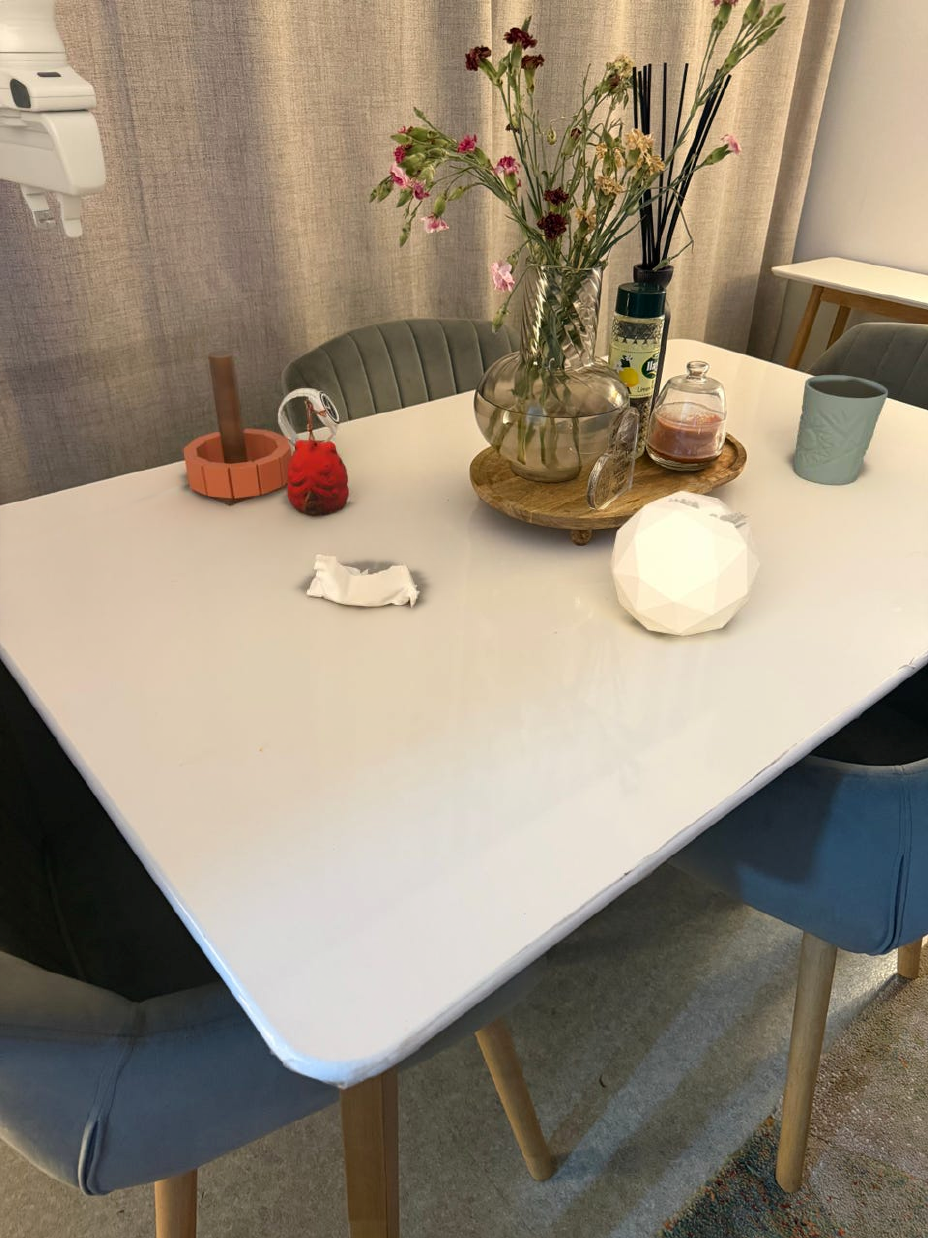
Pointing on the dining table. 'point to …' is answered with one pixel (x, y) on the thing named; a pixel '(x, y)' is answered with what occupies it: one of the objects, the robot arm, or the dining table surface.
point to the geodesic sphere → (684, 564)
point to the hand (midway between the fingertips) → (59, 231)
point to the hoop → (238, 465)
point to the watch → (319, 403)
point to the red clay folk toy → (316, 474)
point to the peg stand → (228, 411)
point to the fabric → (362, 584)
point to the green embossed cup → (836, 427)
